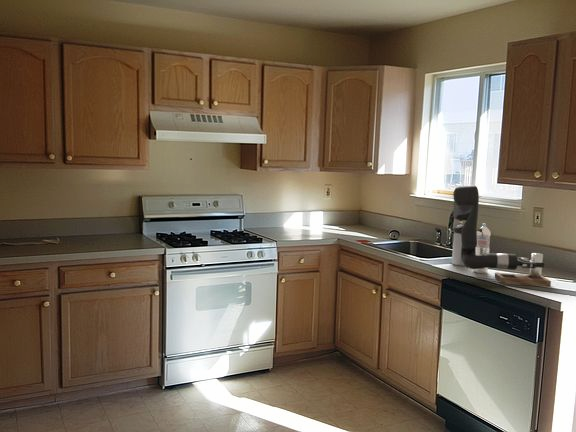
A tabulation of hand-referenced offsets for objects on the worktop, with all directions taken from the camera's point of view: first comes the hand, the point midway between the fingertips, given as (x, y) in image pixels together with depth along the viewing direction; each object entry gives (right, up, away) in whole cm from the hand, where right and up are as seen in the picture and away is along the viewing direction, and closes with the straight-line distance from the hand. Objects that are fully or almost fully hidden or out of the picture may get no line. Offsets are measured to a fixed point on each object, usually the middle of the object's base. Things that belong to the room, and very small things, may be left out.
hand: (540, 263), depth 261 cm
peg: (-2, -9, +1) cm, 10 cm away
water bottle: (-22, -6, +20) cm, 30 cm away
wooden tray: (-8, -9, +2) cm, 12 cm away
